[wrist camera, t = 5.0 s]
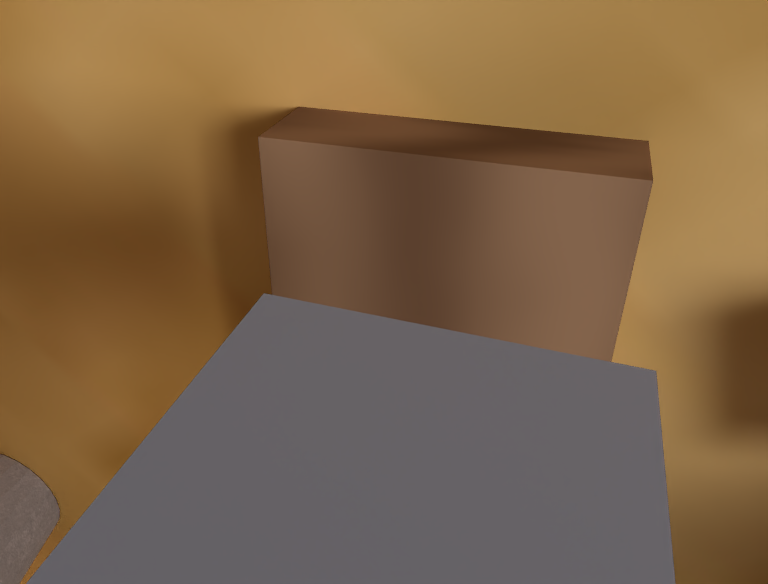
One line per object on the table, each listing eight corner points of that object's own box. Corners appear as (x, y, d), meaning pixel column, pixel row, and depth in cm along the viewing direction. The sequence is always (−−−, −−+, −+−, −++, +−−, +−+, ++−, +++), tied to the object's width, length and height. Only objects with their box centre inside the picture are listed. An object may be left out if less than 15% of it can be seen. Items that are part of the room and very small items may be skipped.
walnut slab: (647, 135, 17) (652, 180, 14) (586, 413, 21) (582, 483, 19) (304, 102, 19) (258, 136, 16) (318, 362, 24) (283, 419, 21)
